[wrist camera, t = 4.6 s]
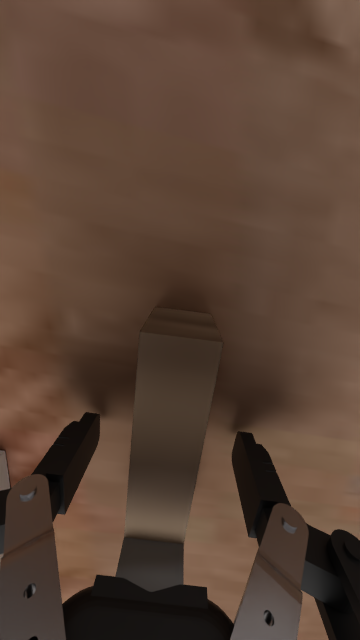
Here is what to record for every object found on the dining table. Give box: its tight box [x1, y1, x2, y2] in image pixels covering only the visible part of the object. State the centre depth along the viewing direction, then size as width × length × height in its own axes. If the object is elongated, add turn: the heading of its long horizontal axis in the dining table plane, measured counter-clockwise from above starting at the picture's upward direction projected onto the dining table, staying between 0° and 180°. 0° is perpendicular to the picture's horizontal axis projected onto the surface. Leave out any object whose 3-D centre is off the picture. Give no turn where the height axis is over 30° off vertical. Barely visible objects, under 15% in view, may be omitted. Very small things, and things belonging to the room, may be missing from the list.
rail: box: [116, 307, 224, 592], centre depth 11 cm, size 14×3×6 cm, turn 173°
